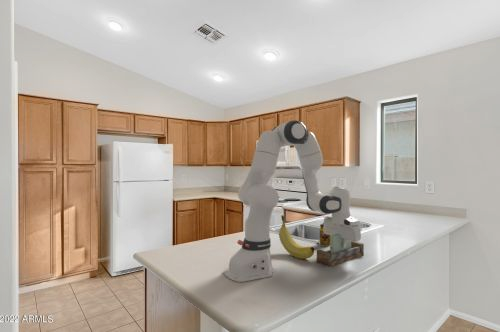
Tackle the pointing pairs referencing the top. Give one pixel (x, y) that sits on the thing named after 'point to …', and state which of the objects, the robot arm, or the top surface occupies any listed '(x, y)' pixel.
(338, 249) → the door panel
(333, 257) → the track base
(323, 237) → the condiment
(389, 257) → the top surface
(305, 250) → the banana
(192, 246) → the top surface
